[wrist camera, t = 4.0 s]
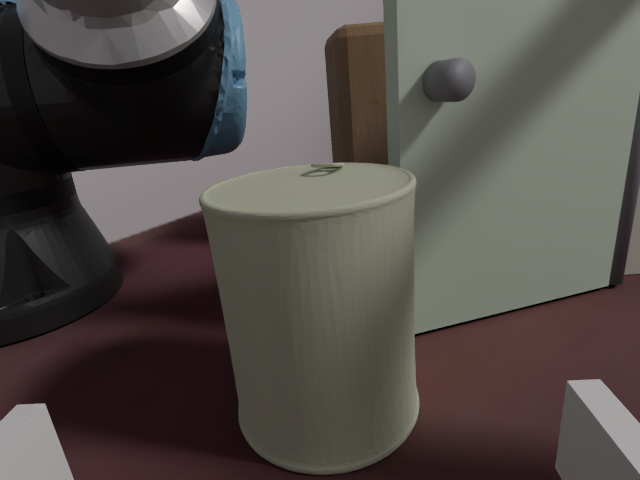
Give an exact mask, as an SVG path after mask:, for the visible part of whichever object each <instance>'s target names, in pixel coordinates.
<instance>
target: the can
mask: <svg viewBox="0 0 640 480" xmlns="http://www.w3.org/2000/svg"><path fill="white" fill-rule="evenodd" d="M415 187H416V178H415V176H414V175H413V174H412V173H411V172H409V171H407V170H405V169H402V168H398V167H394V166H389V165H382V164H372V163H318V164H307V165H298V166H289V167H282V168H275V169H269V170H264V171H258V172H254V173H249V174H245V175H241V176H237V177H234V178H231V179H227V180H224V181H222V182H219V183H217V184H215V185H213V186H211V187H209V188H207V189H206V190H205V191H204V192H203V193H202V194H201V195H200V198H199V203H200V206H201V208H202V212H203V216H204V220H205V224H206V229H207V234H208V239H209V244H210V249H211V254H212V259H213V264H214V269H215V274H216V279H217V284H218V289H219V294H220V299H221V305H222V310H223V316H224V321H225V326H226V332H227V337H228V343H229V348H230V354H231V359H232V365H233V371H234V376H235V383H236V389H237V396H238V402H239V407H238V418H239V424H240V428H241V431H242V433H243V435H244V437H245V439H246V441H247V442H248V444H249V445H250V446H251V447H252V449H253V450H254V451H255V452H257V453H258V454H259V455H260V456H261V457H263V458H264V459H266V460H267V461H269V462H270V463H272V464H274V465H277V466H279V467H281V468H284V469H287V470H290V471H293V472H298V473H303V474H313V475H332V474H341V473H347V472H351V471H355V470H359V469H362V468H365V467H367V466H370V465H372V464H374V463H377V462H378V461H380V460H382V459H383V458H385V457H387V456H388V455H390V454H391V453H392V452H393V451H395V450H396V449H397V448H398V447H400V446H401V444H402V443H403V442H404V441H405V440H406V439H407V437H408V436H409V434H410V433H411V431H412V429H413V427H414V426H415V423H416V421H417V417H418V413H419V395H418V391H417V388H416V374H415V324H414V204H415Z"/></svg>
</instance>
